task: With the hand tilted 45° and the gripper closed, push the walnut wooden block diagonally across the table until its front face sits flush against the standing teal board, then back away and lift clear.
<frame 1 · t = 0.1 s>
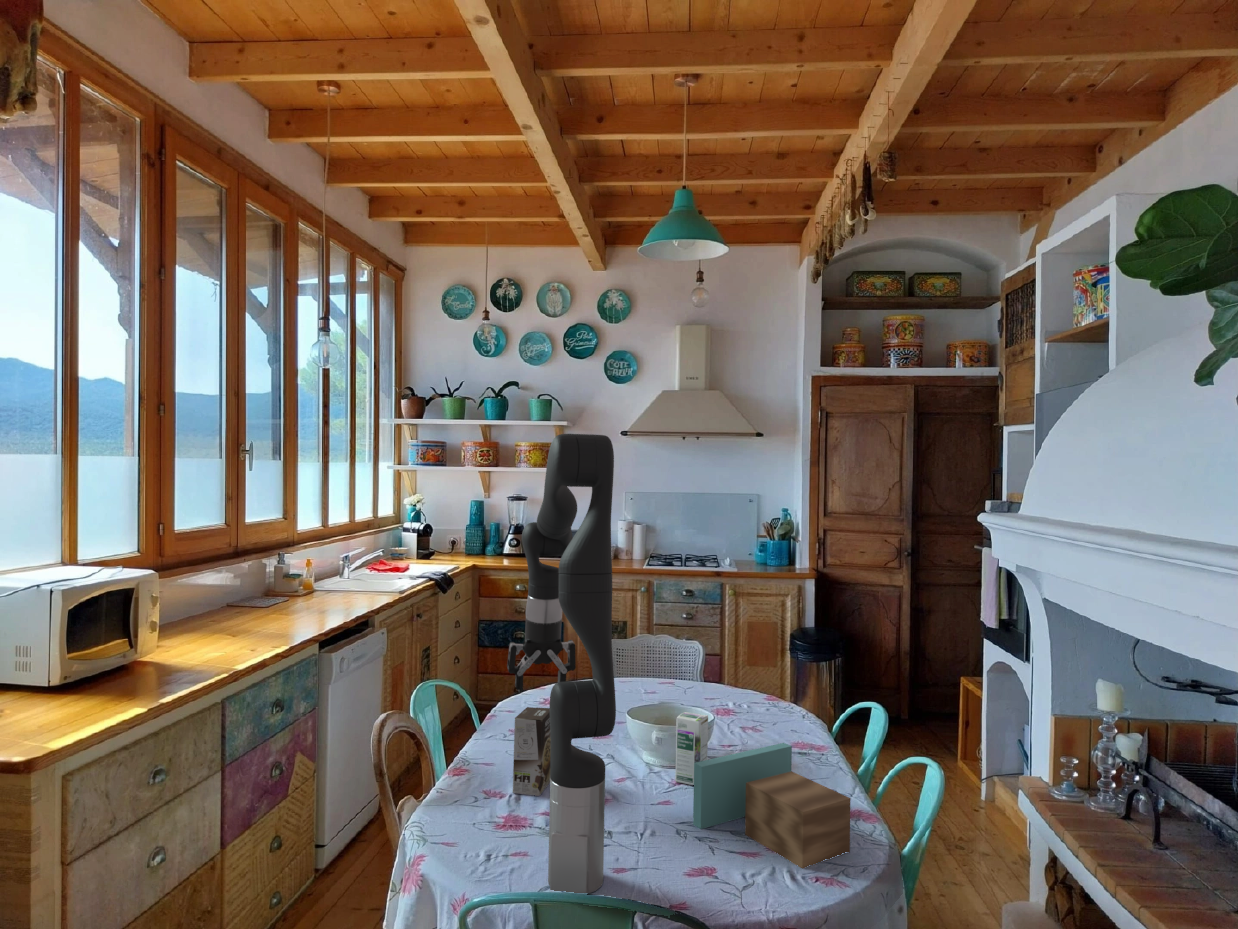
hand: (540, 690, 165), 22 cm above the table, tool pointing down, fingers open, 8 cm apart
teal board: (743, 813, 158), on the table
coffee box: (532, 788, 169), on the table
walnut block: (796, 844, 145), on the table
syrup box: (691, 781, 175), on the table
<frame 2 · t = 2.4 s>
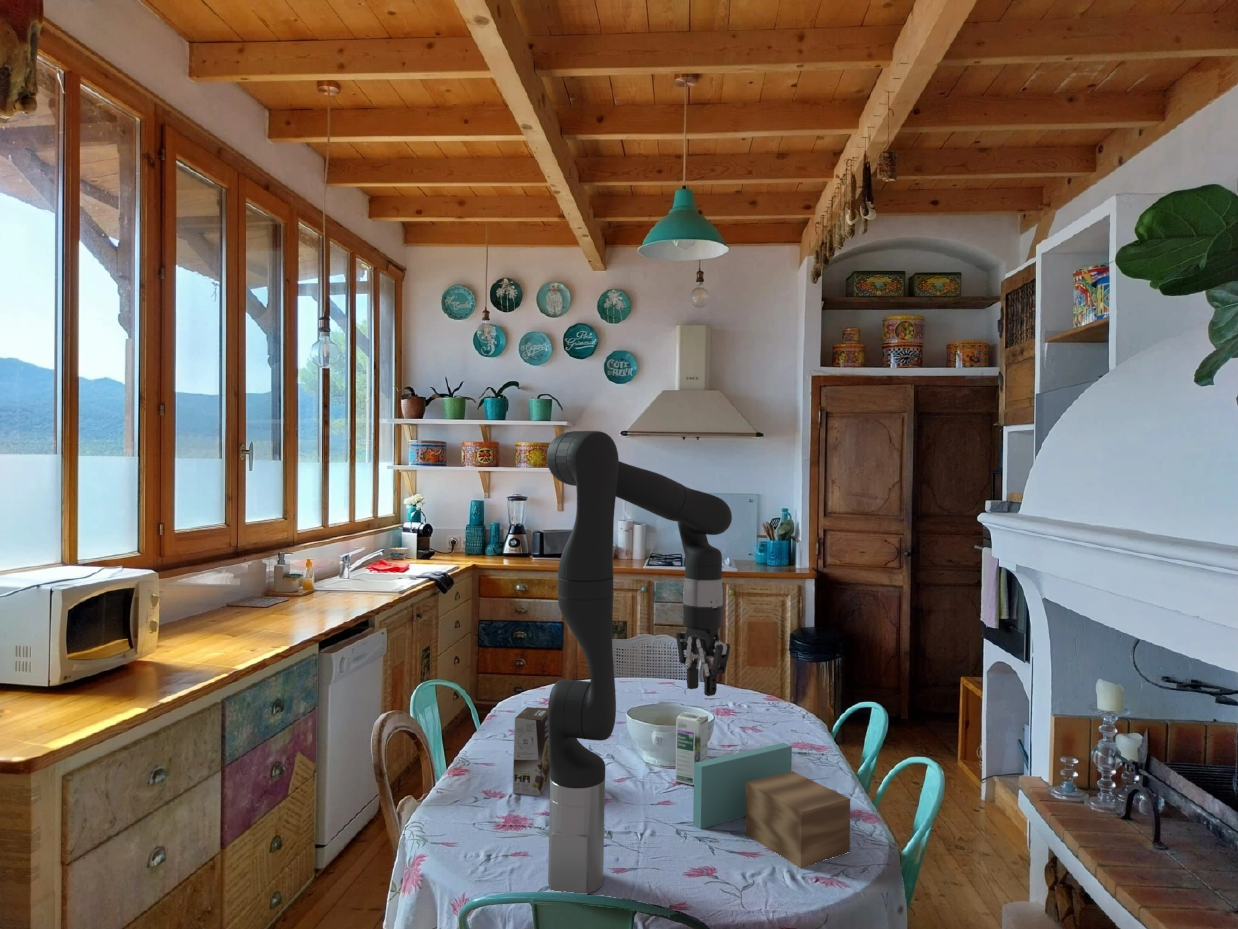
hand: (701, 691, 148), 27 cm above the table, tool pointing down, fingers open, 4 cm apart
nothing on the table moved.
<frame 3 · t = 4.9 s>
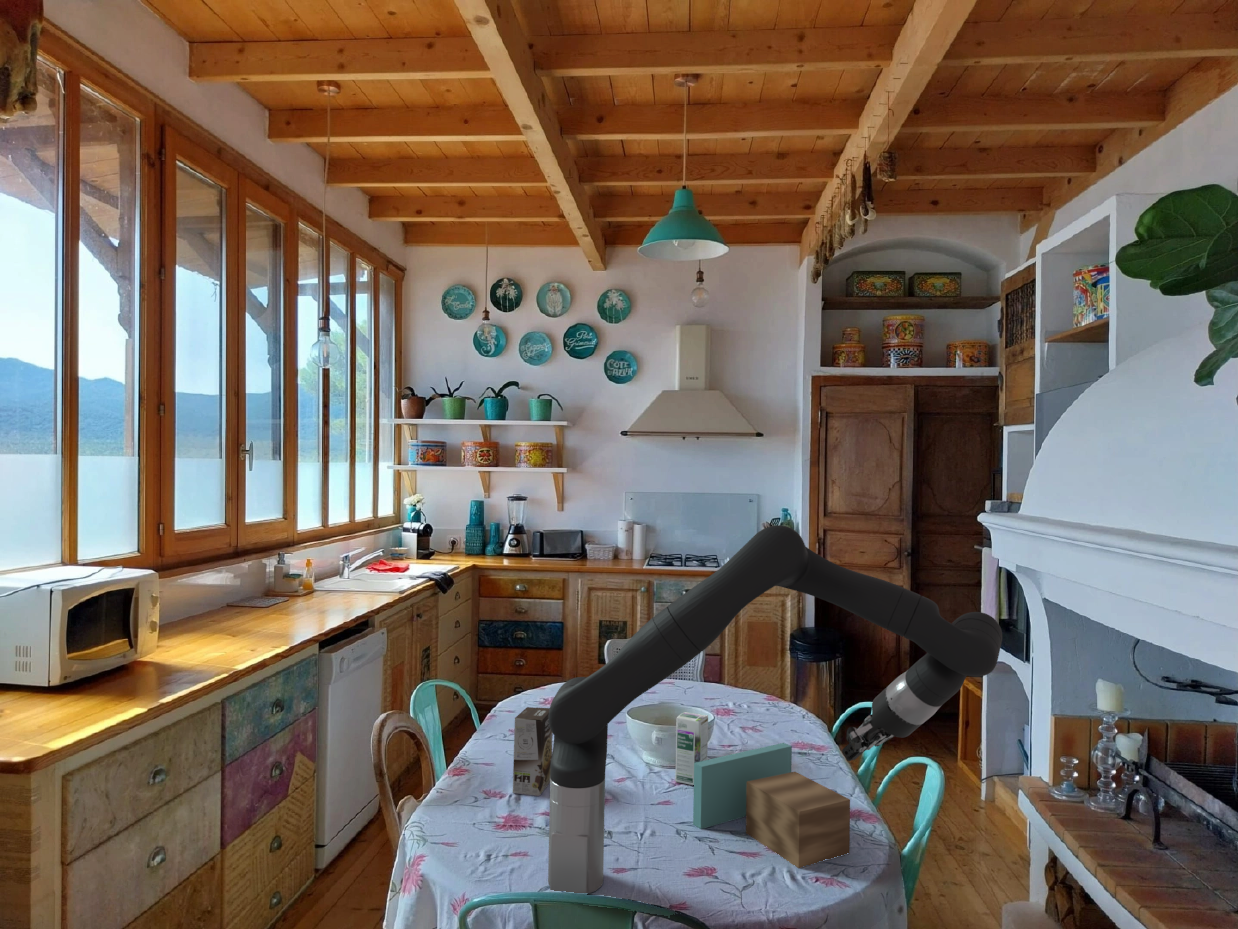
hand: (847, 755, 136), 20 cm above the table, tool tilted 45°, fingers closed
nothing on the table moved.
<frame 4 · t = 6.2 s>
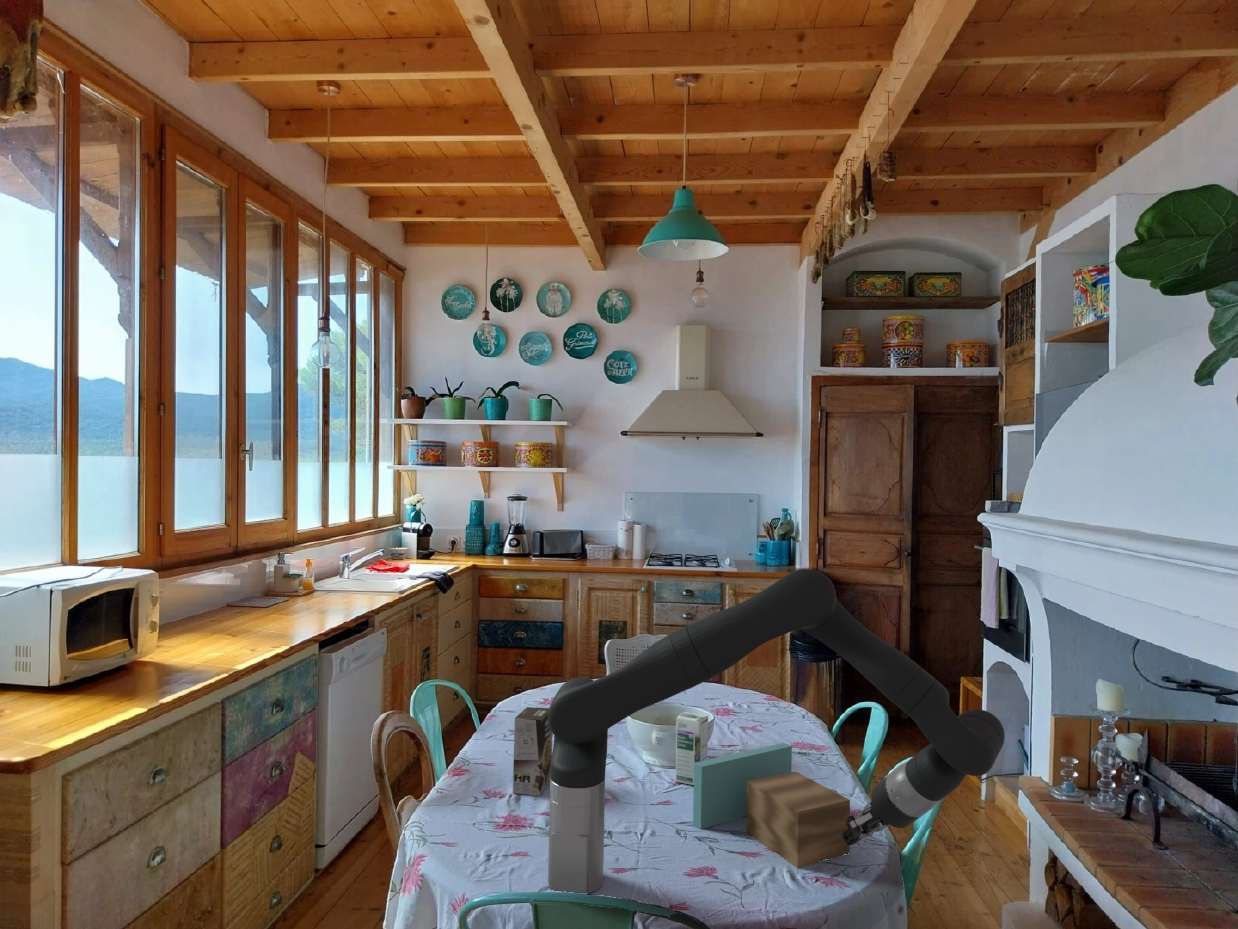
hand: (847, 839, 135), 5 cm above the table, tool tilted 45°, fingers closed
nothing on the table moved.
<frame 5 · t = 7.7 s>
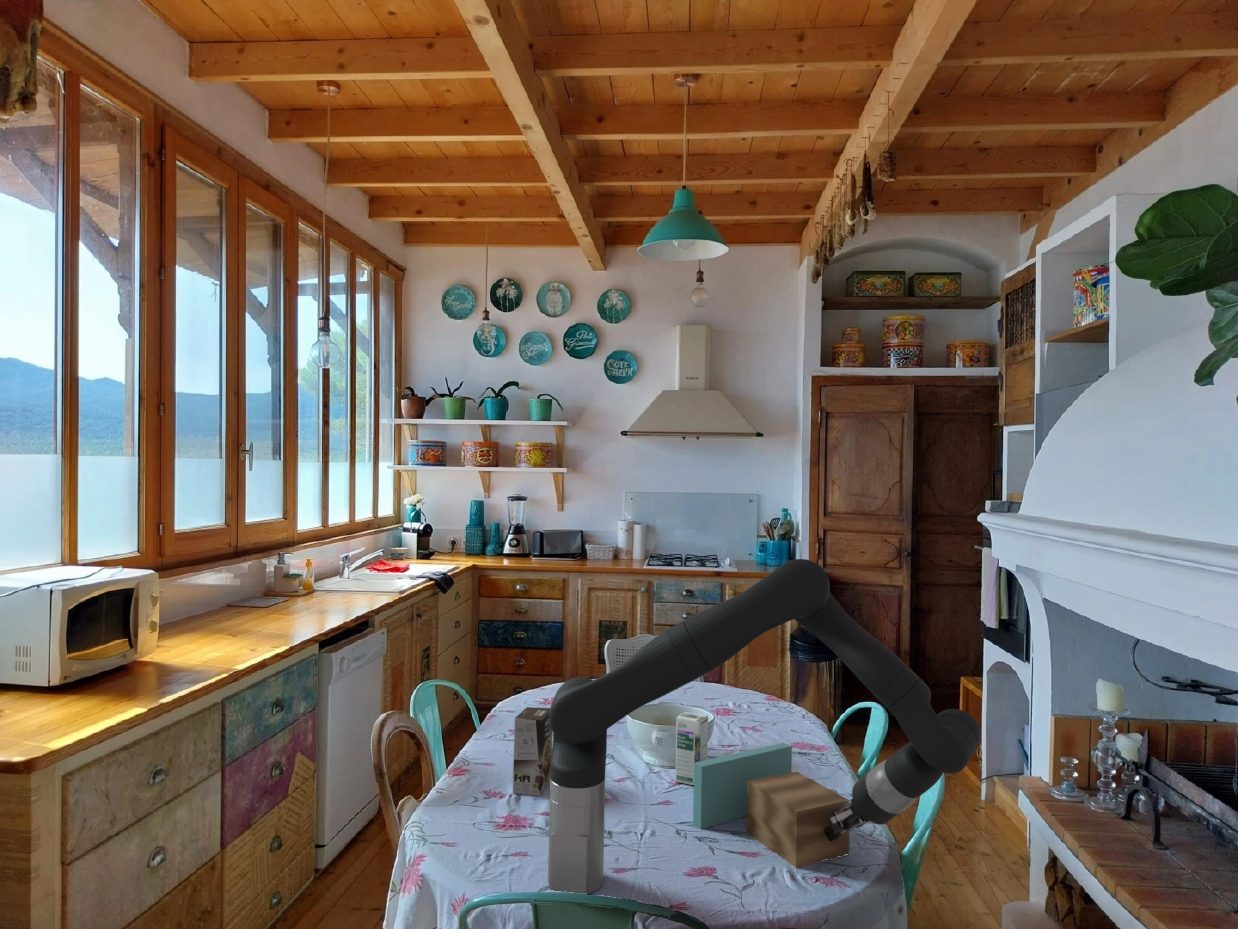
hand: (829, 835, 138), 5 cm above the table, tool tilted 45°, fingers closed
walnut block: (796, 844, 145), on the table, touching gripper
everything else where it was.
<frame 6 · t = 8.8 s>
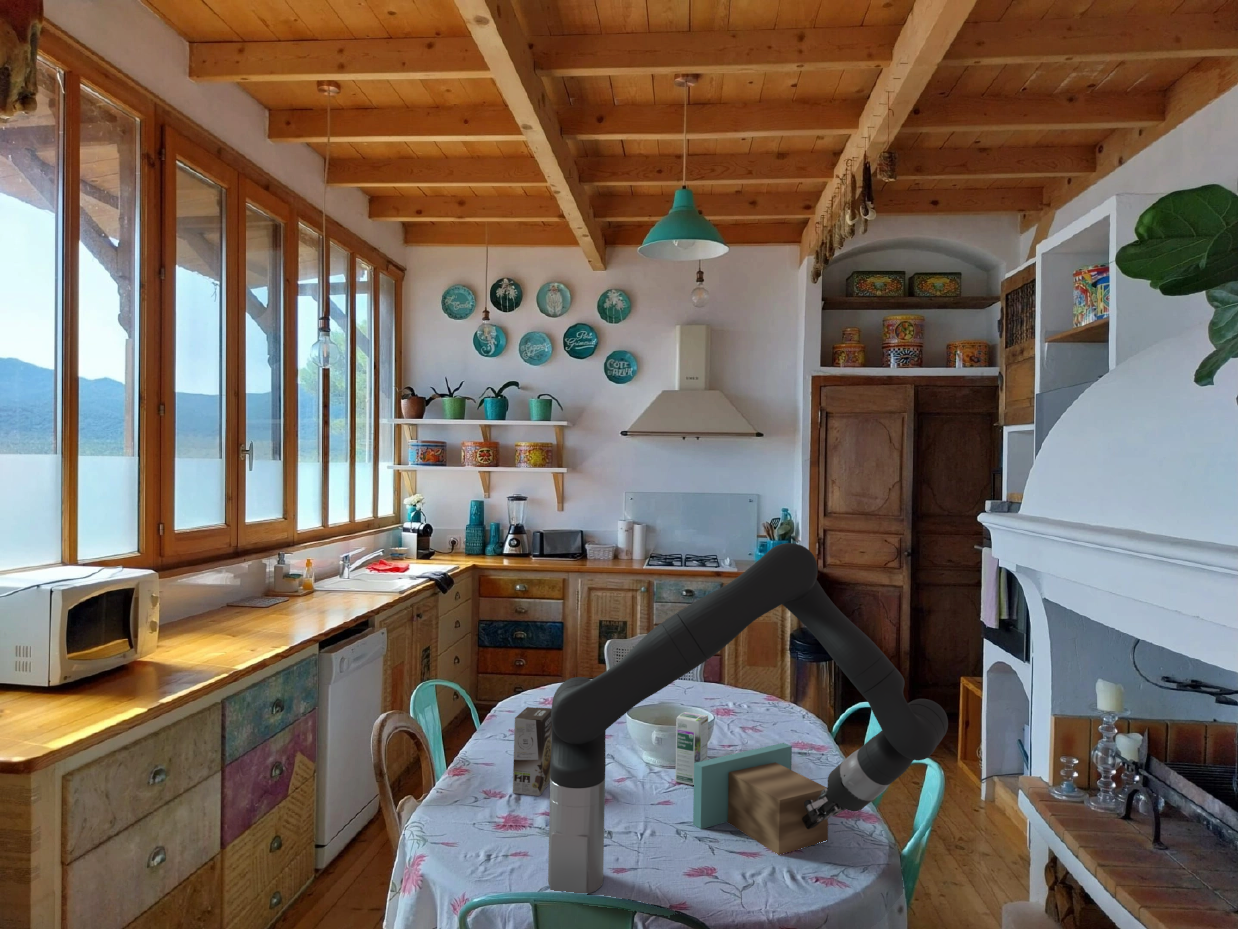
hand: (807, 823, 143), 5 cm above the table, tool tilted 45°, fingers closed
walnut block: (776, 832, 150), on the table, touching gripper
everything else where it was.
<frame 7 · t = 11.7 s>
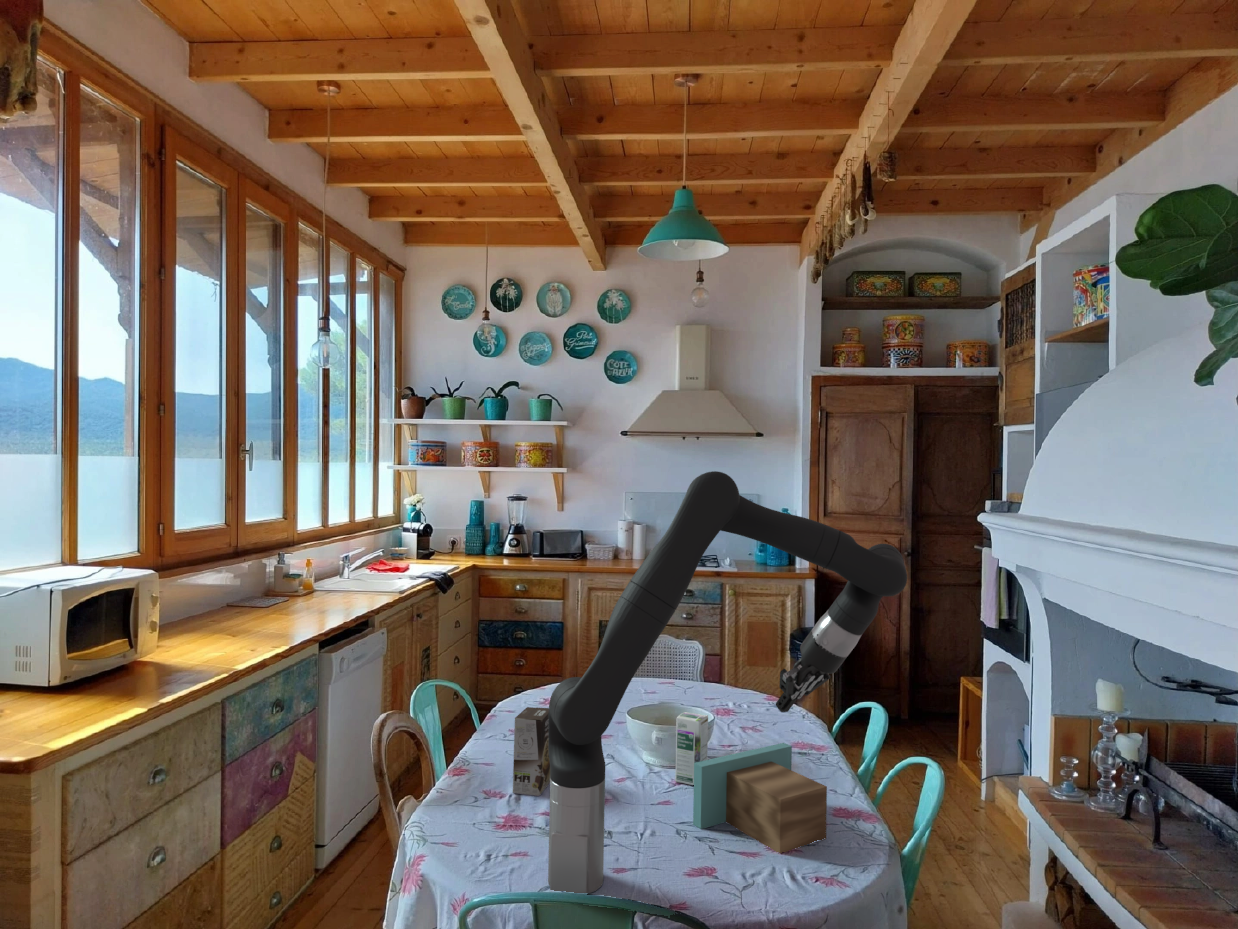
hand: (780, 708, 145), 25 cm above the table, tool tilted 35°, fingers closed
walnut block: (775, 831, 150), on the table, touching teal board
everything else where it was.
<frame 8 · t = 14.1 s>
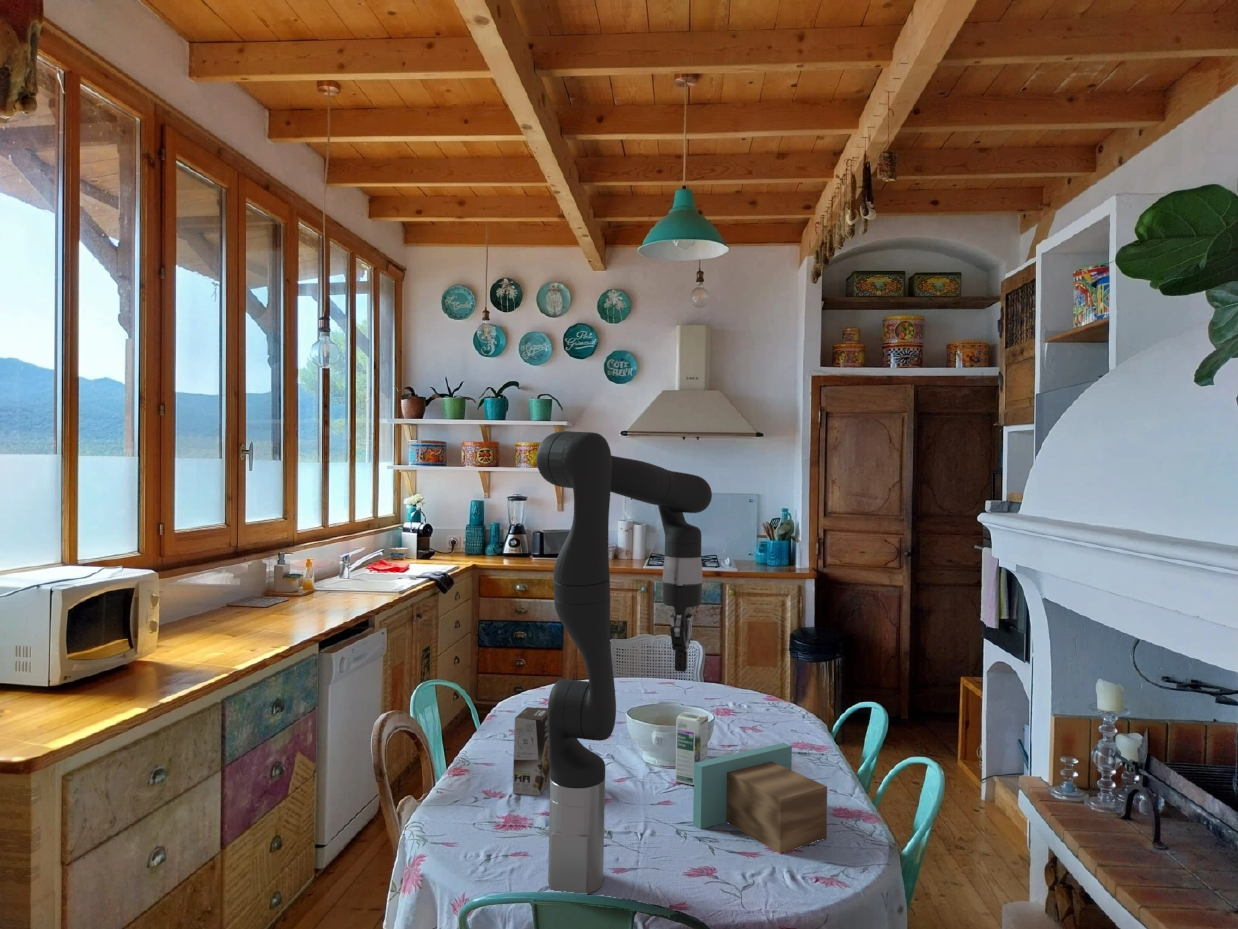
hand: (680, 670, 149), 31 cm above the table, tool pointing down, fingers closed
walnut block: (775, 831, 150), on the table
everything else where it was.
at the end: walnut block 8.7 cm from the teal board (horizontally); walnut block 0.4 cm from the target spot on the table beside the teal board, on the table; walnut block tilted 0° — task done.
